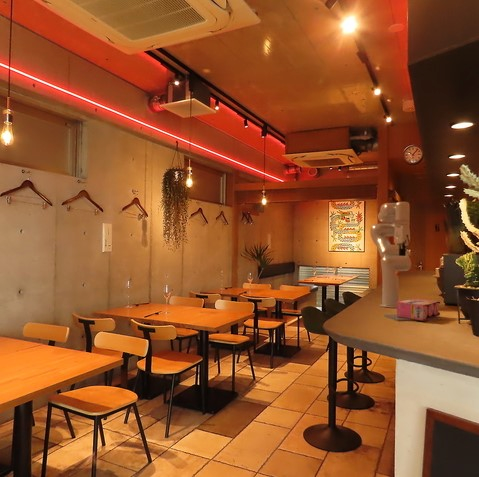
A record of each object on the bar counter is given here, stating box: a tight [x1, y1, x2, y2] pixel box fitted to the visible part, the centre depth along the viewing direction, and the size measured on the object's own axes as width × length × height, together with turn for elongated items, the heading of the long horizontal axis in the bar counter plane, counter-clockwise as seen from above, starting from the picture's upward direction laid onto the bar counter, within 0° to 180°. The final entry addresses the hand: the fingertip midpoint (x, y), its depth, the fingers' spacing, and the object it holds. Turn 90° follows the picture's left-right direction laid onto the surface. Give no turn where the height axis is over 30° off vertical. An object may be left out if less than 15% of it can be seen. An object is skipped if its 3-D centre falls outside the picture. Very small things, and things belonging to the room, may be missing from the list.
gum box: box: [396, 298, 441, 320], centre depth 215 cm, size 24×8×14 cm
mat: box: [383, 314, 443, 322], centre depth 214 cm, size 14×24×1 cm, turn 98°
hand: (402, 255), depth 234 cm, fingers closed
